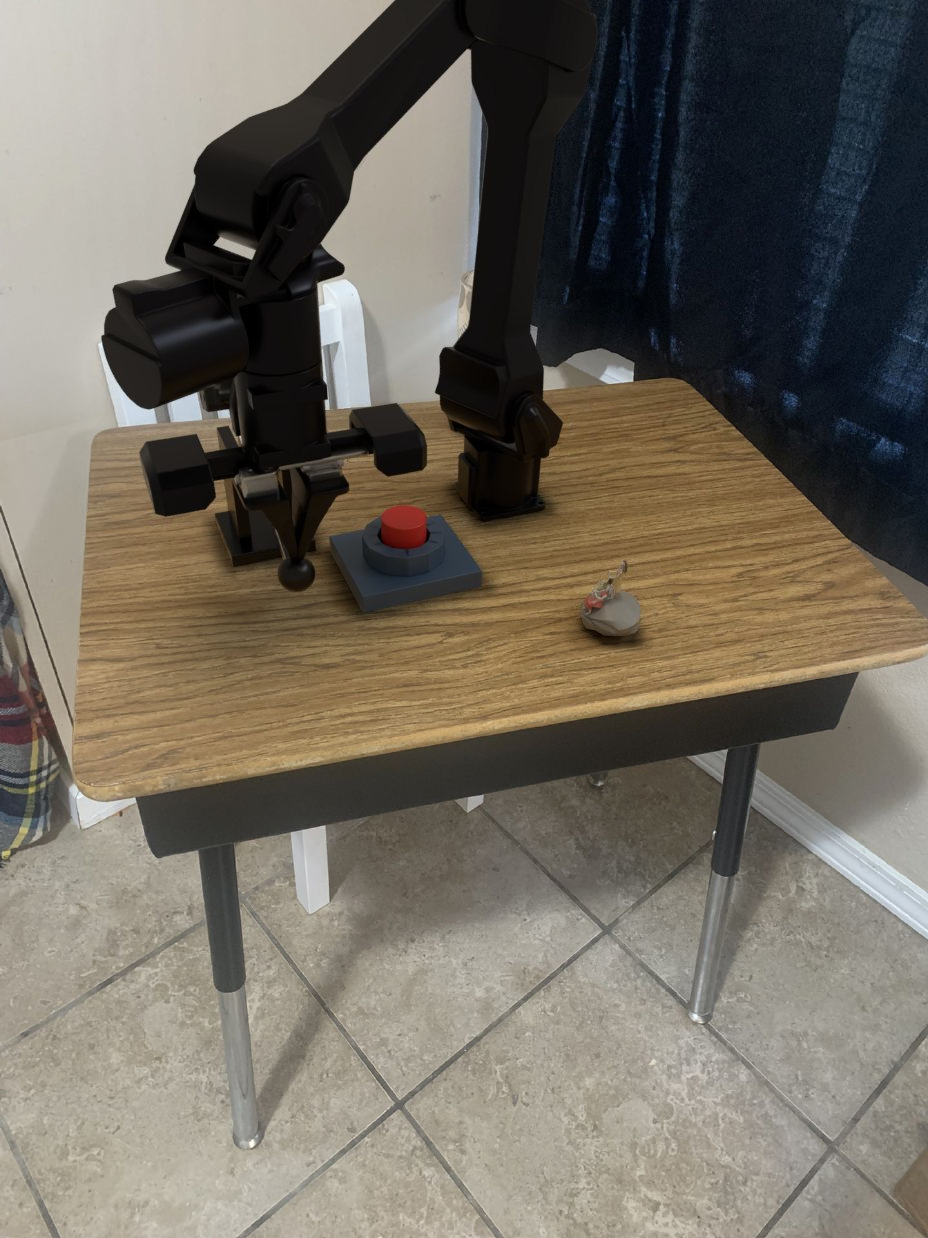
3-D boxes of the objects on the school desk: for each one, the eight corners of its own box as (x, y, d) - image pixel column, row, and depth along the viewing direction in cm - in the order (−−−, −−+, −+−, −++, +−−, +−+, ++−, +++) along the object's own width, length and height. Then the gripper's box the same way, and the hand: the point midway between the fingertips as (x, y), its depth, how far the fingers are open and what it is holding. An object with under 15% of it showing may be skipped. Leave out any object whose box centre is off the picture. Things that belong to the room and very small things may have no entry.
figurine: (647, 643, 74) (659, 579, 70) (593, 653, 73) (602, 588, 69) (619, 602, 78) (629, 539, 74) (567, 611, 77) (574, 547, 73)
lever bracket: (316, 551, 82) (308, 447, 76) (233, 568, 80) (218, 462, 74) (294, 510, 87) (285, 409, 81) (215, 524, 85) (200, 421, 79)
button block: (440, 530, 85) (441, 495, 83) (481, 587, 79) (483, 551, 77) (329, 552, 82) (327, 517, 80) (363, 614, 76) (361, 577, 73)
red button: (417, 522, 80) (417, 501, 79) (433, 545, 78) (433, 524, 76) (375, 531, 79) (374, 509, 78) (390, 554, 77) (389, 532, 75)
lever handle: (319, 595, 74) (320, 574, 72) (282, 603, 73) (283, 581, 71) (268, 450, 81) (268, 427, 78) (234, 456, 80) (233, 432, 78)
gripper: (375, 297, 71) (380, 484, 81) (109, 328, 65) (149, 526, 75) (430, 356, 63) (429, 556, 73) (133, 398, 57) (174, 609, 67)
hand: (295, 558), depth 72 cm, fingers closed
